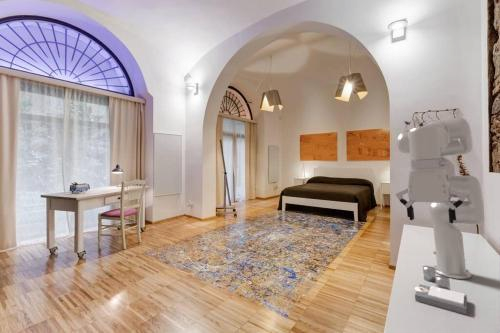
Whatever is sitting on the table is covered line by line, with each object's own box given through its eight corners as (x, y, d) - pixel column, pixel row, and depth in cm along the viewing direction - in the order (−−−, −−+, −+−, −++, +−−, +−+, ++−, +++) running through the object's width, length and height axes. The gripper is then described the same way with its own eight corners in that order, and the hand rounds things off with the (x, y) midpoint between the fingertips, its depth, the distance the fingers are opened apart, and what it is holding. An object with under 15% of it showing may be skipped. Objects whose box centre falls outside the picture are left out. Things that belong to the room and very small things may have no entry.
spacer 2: (437, 287, 88) (436, 274, 88) (451, 291, 85) (449, 277, 85) (435, 292, 85) (434, 278, 85) (450, 295, 82) (448, 281, 82)
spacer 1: (424, 276, 97) (423, 265, 97) (436, 279, 94) (435, 267, 95) (423, 280, 94) (422, 267, 95) (435, 283, 91) (434, 270, 92)
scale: (417, 288, 87) (416, 281, 88) (467, 301, 78) (466, 293, 78) (412, 299, 80) (411, 291, 81) (466, 314, 71) (465, 305, 71)
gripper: (464, 163, 68) (469, 221, 67) (396, 167, 80) (400, 216, 79) (463, 163, 62) (469, 226, 61) (391, 167, 75) (395, 220, 74)
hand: (430, 221), depth 70 cm, fingers open, 9 cm apart
